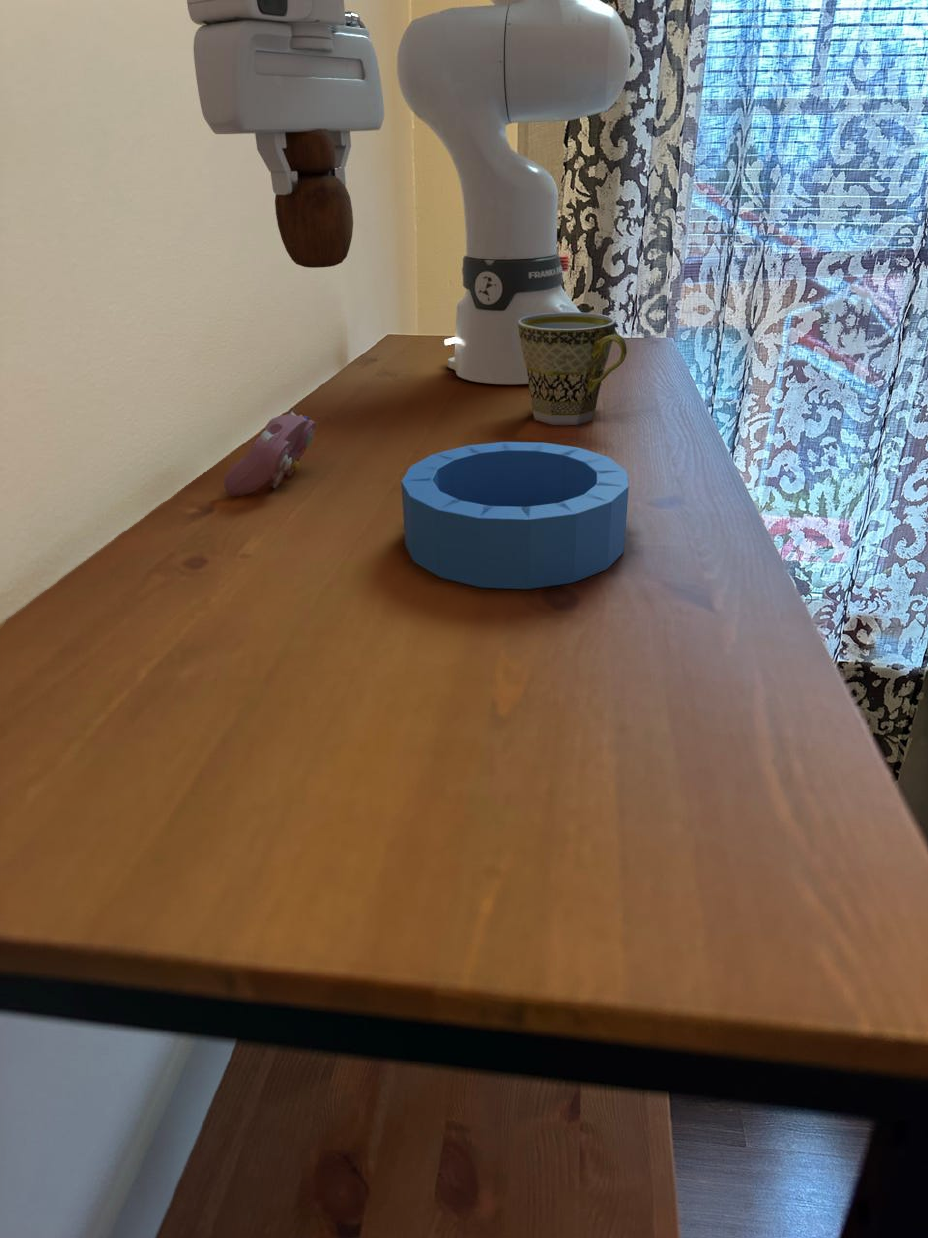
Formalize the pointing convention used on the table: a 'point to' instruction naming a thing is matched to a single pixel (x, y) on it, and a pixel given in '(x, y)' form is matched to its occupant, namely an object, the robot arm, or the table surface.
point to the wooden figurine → (314, 203)
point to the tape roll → (515, 514)
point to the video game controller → (271, 455)
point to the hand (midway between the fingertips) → (310, 191)
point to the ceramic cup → (567, 363)
